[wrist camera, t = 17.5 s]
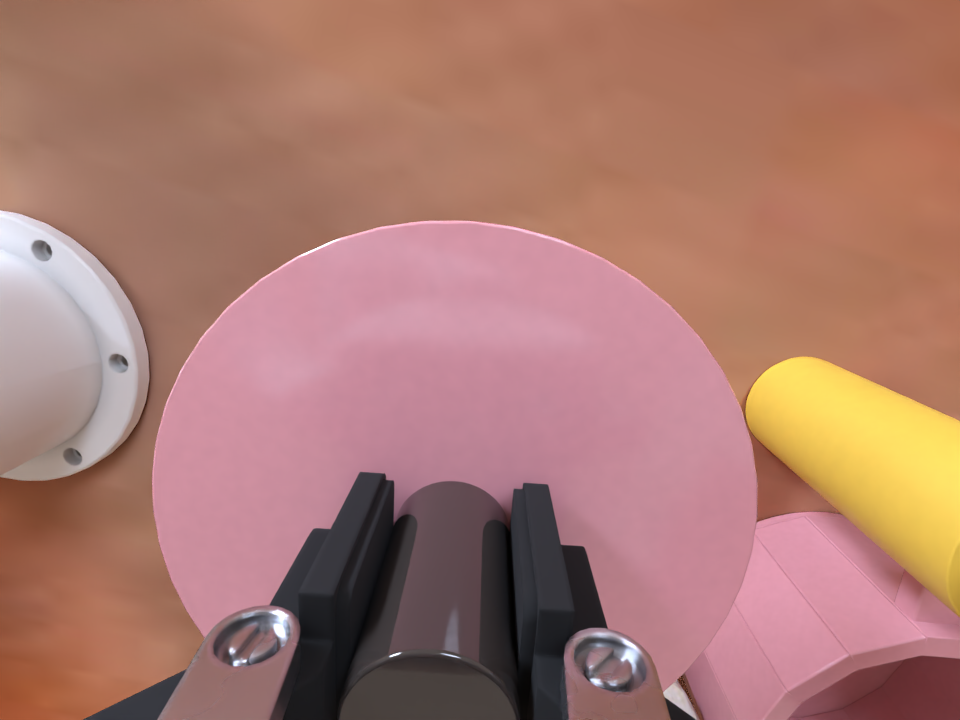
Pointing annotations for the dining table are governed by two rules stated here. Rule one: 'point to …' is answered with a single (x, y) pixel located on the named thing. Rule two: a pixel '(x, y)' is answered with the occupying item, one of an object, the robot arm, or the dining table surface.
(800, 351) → the dining table surface
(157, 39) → the dining table surface
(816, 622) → the pot
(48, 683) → the dining table surface
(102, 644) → the dining table surface
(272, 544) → the lid
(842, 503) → the yellow stepped cylinder
